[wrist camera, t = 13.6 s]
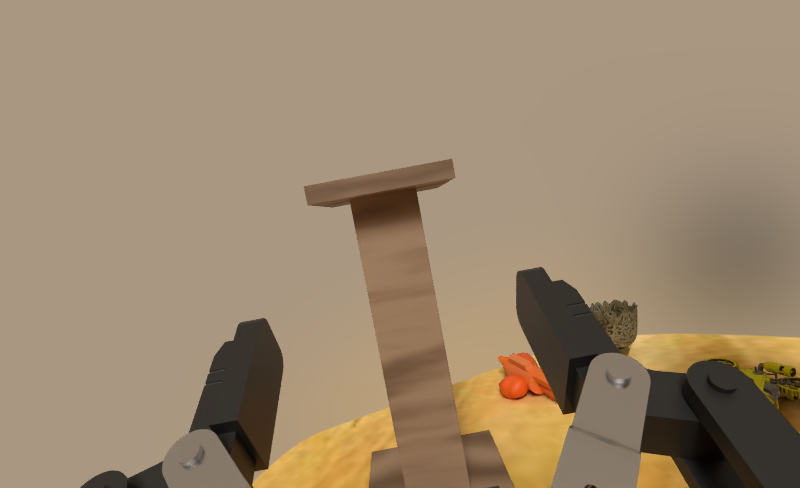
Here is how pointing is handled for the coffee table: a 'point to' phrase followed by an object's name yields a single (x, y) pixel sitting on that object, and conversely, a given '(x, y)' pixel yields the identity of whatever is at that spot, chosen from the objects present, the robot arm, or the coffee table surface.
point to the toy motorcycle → (771, 379)
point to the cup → (618, 322)
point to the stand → (411, 334)
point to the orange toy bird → (522, 377)
